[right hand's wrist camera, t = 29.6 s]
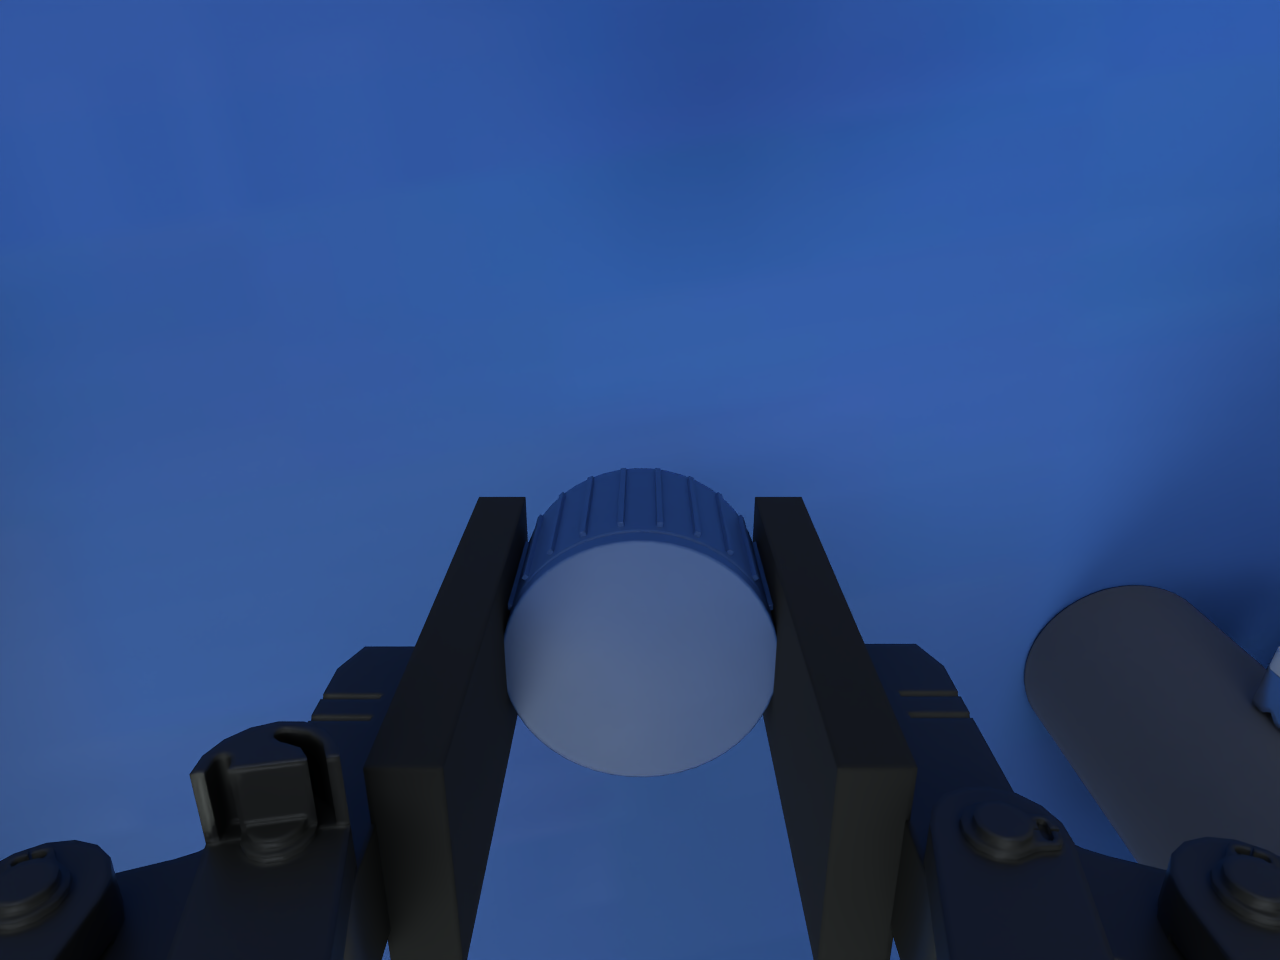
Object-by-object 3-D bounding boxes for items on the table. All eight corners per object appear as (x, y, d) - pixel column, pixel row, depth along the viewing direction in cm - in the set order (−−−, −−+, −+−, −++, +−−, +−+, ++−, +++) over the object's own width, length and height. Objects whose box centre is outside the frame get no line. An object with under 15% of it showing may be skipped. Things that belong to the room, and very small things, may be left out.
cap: (805, 528, 14) (839, 613, 12) (688, 708, 16) (697, 818, 13) (586, 421, 14) (573, 487, 11) (484, 619, 15) (452, 717, 13)
